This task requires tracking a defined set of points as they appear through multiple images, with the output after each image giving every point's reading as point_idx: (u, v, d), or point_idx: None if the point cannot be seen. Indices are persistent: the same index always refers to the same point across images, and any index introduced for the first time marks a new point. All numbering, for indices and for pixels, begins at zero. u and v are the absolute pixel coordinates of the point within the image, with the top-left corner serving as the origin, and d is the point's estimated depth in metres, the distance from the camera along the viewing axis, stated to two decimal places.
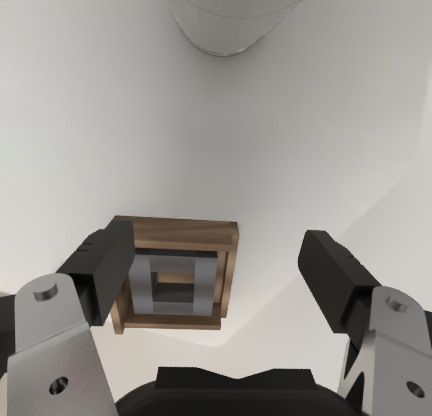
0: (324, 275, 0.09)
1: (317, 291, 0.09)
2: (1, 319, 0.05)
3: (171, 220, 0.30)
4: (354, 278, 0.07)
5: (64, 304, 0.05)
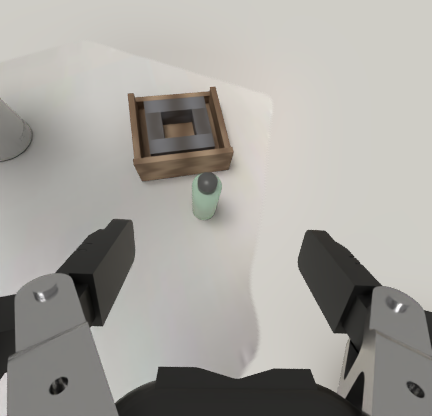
0: (324, 275, 0.09)
1: (317, 291, 0.09)
2: (1, 319, 0.05)
3: None
4: (354, 278, 0.07)
5: (64, 304, 0.05)
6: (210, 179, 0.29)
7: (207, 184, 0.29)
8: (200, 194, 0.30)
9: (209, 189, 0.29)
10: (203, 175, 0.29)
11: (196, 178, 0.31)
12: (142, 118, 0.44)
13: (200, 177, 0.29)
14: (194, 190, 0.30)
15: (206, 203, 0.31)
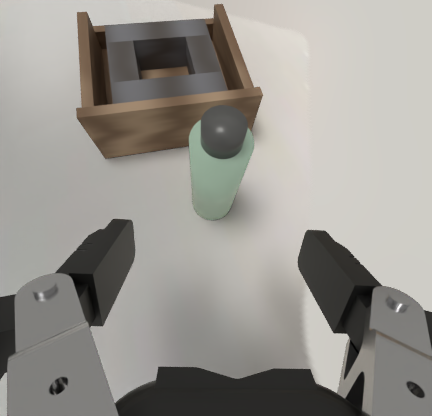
0: (324, 275, 0.09)
1: (317, 291, 0.09)
2: (1, 319, 0.05)
3: None
4: (354, 278, 0.07)
5: (64, 304, 0.05)
6: (230, 120, 0.12)
7: (224, 130, 0.12)
8: (208, 157, 0.13)
9: (229, 141, 0.12)
10: (213, 112, 0.13)
11: (197, 126, 0.14)
12: (107, 61, 0.27)
13: (207, 116, 0.12)
14: (194, 150, 0.13)
15: (221, 180, 0.14)
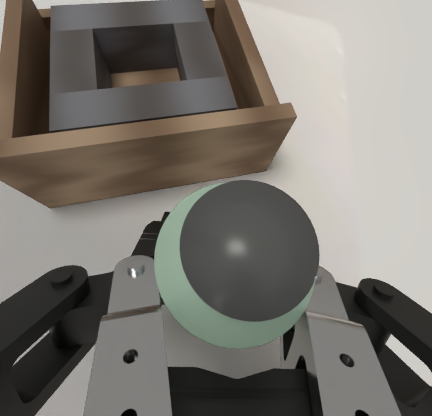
0: None
1: None
2: (103, 292, 0.06)
3: None
4: None
5: None
6: (267, 230, 0.04)
7: (251, 269, 0.04)
8: (203, 309, 0.05)
9: (269, 311, 0.04)
10: (218, 203, 0.04)
11: (178, 215, 0.06)
12: None
13: (199, 218, 0.04)
14: (166, 289, 0.05)
15: None
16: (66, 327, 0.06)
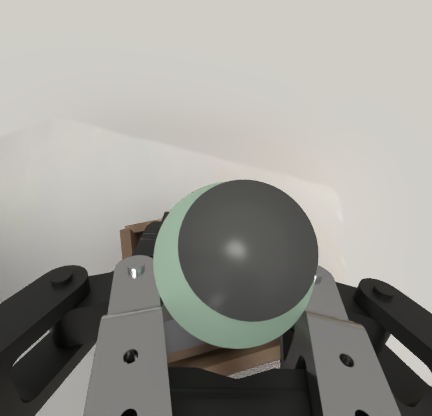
0: None
1: None
2: (103, 292, 0.06)
3: None
4: None
5: None
6: (266, 229, 0.04)
7: (249, 269, 0.04)
8: (202, 309, 0.05)
9: (268, 311, 0.04)
10: (217, 203, 0.04)
11: (177, 215, 0.06)
12: None
13: (197, 218, 0.04)
14: (165, 289, 0.05)
15: None
16: (66, 327, 0.06)
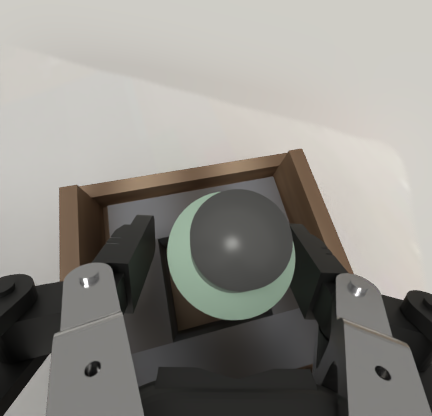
0: (298, 265, 0.09)
1: (293, 281, 0.09)
2: (51, 303, 0.06)
3: None
4: (321, 266, 0.08)
5: (108, 289, 0.06)
6: (254, 225, 0.06)
7: (242, 254, 0.05)
8: (205, 290, 0.06)
9: (255, 283, 0.05)
10: (218, 206, 0.06)
11: (185, 217, 0.07)
12: None
13: (204, 217, 0.06)
14: (177, 274, 0.07)
15: None
16: (7, 342, 0.06)
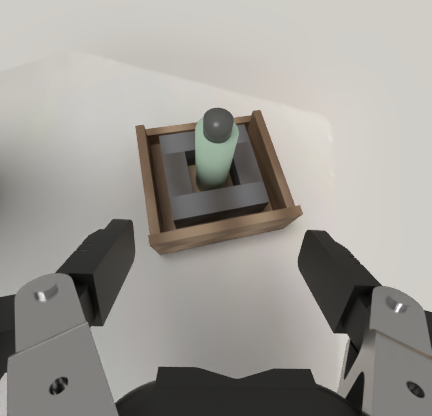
0: (324, 275, 0.09)
1: (317, 291, 0.09)
2: (1, 319, 0.05)
3: None
4: (354, 278, 0.07)
5: (64, 304, 0.05)
6: (222, 117, 0.19)
7: (218, 124, 0.19)
8: (208, 142, 0.20)
9: (221, 131, 0.19)
10: (211, 112, 0.19)
11: (200, 121, 0.21)
12: (156, 157, 0.31)
13: (207, 115, 0.19)
14: (198, 137, 0.20)
15: (216, 159, 0.21)
16: None
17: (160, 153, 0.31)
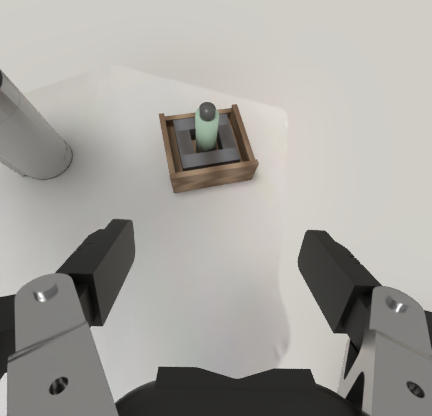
0: (324, 275, 0.09)
1: (317, 291, 0.09)
2: (1, 319, 0.05)
3: None
4: (354, 278, 0.07)
5: (64, 304, 0.05)
6: (209, 107, 0.36)
7: (207, 110, 0.36)
8: (202, 121, 0.37)
9: (209, 114, 0.36)
10: (204, 104, 0.36)
11: (198, 110, 0.38)
12: (170, 135, 0.48)
13: (201, 106, 0.36)
14: (197, 118, 0.37)
15: (207, 130, 0.38)
16: None
17: (173, 132, 0.48)
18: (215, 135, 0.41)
